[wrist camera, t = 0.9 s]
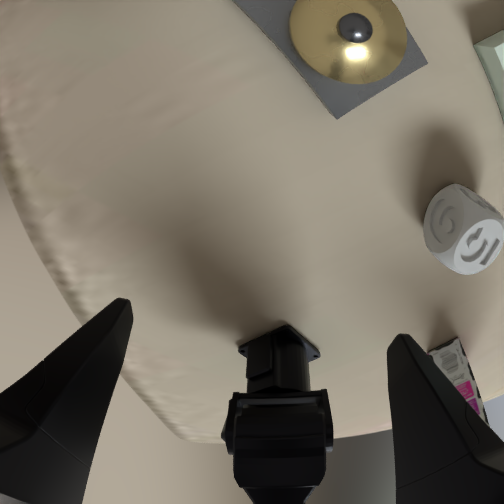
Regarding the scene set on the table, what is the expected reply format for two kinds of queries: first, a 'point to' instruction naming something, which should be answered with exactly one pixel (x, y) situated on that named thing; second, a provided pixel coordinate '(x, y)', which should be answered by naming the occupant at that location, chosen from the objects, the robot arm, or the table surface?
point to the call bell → (340, 45)
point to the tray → (494, 64)
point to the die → (463, 230)
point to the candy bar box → (459, 373)
